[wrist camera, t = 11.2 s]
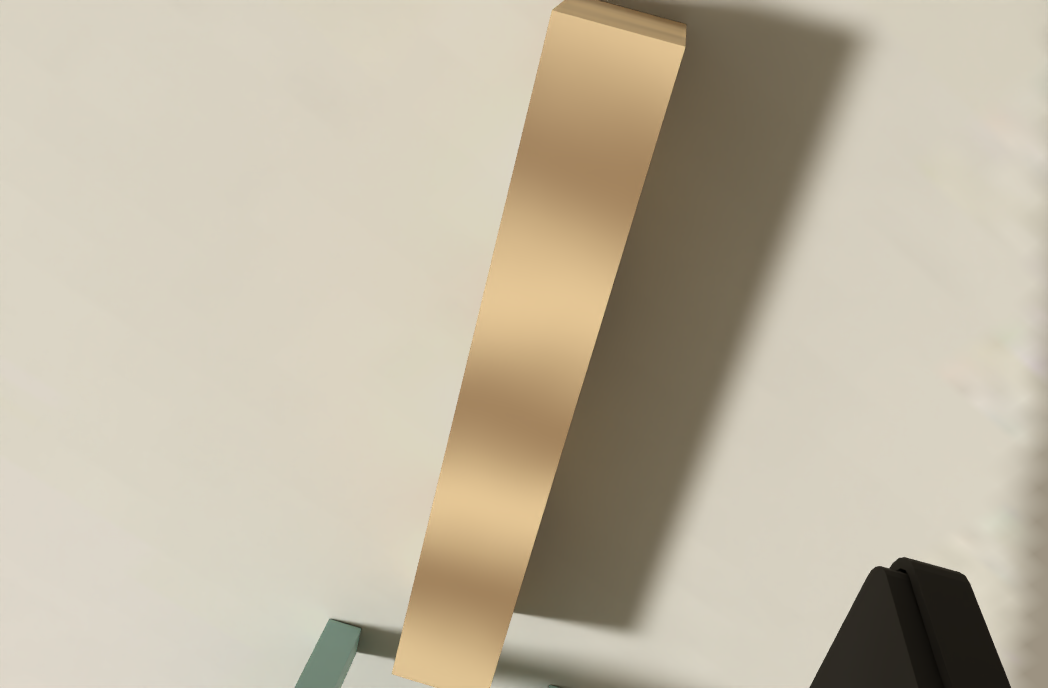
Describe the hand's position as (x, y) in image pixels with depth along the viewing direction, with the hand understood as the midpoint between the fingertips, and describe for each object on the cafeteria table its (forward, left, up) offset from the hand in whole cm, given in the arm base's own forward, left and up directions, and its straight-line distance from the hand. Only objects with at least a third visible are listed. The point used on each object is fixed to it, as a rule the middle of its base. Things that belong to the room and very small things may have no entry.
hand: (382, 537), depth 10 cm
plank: (+7, 0, -19) cm, 20 cm away
